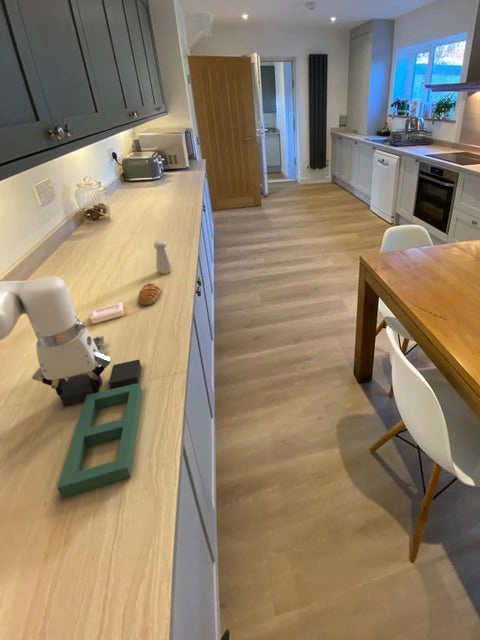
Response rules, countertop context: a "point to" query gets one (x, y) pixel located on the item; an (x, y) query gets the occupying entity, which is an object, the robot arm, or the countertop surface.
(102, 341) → the egg carton
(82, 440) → the green double tile frame
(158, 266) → the salt shaker
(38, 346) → the robot arm
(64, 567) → the countertop surface
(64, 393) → the pad
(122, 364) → the pad
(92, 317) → the soap bar
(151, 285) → the pastry
